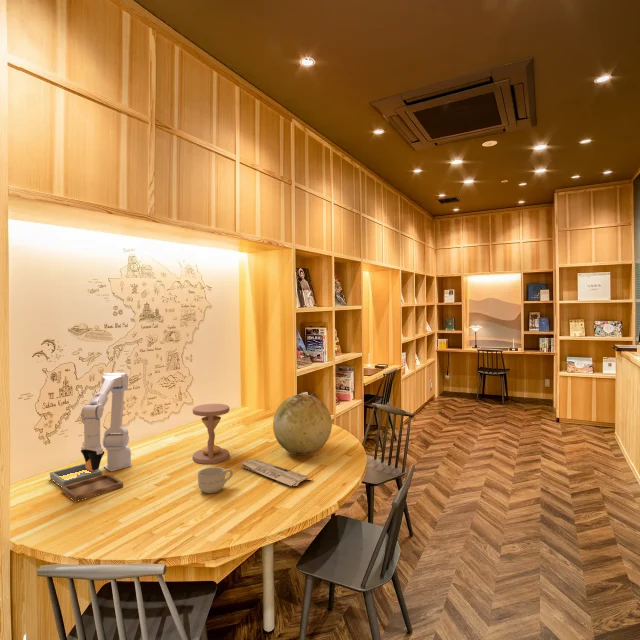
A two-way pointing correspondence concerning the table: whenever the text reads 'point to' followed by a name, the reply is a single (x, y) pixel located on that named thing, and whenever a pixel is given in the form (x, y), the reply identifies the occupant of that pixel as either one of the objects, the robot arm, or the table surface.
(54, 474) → the dish
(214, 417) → the hourglass
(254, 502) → the table surface
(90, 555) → the table surface
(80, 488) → the tray
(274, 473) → the newspaper
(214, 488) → the teacup
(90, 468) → the ball
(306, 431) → the olive sphere
